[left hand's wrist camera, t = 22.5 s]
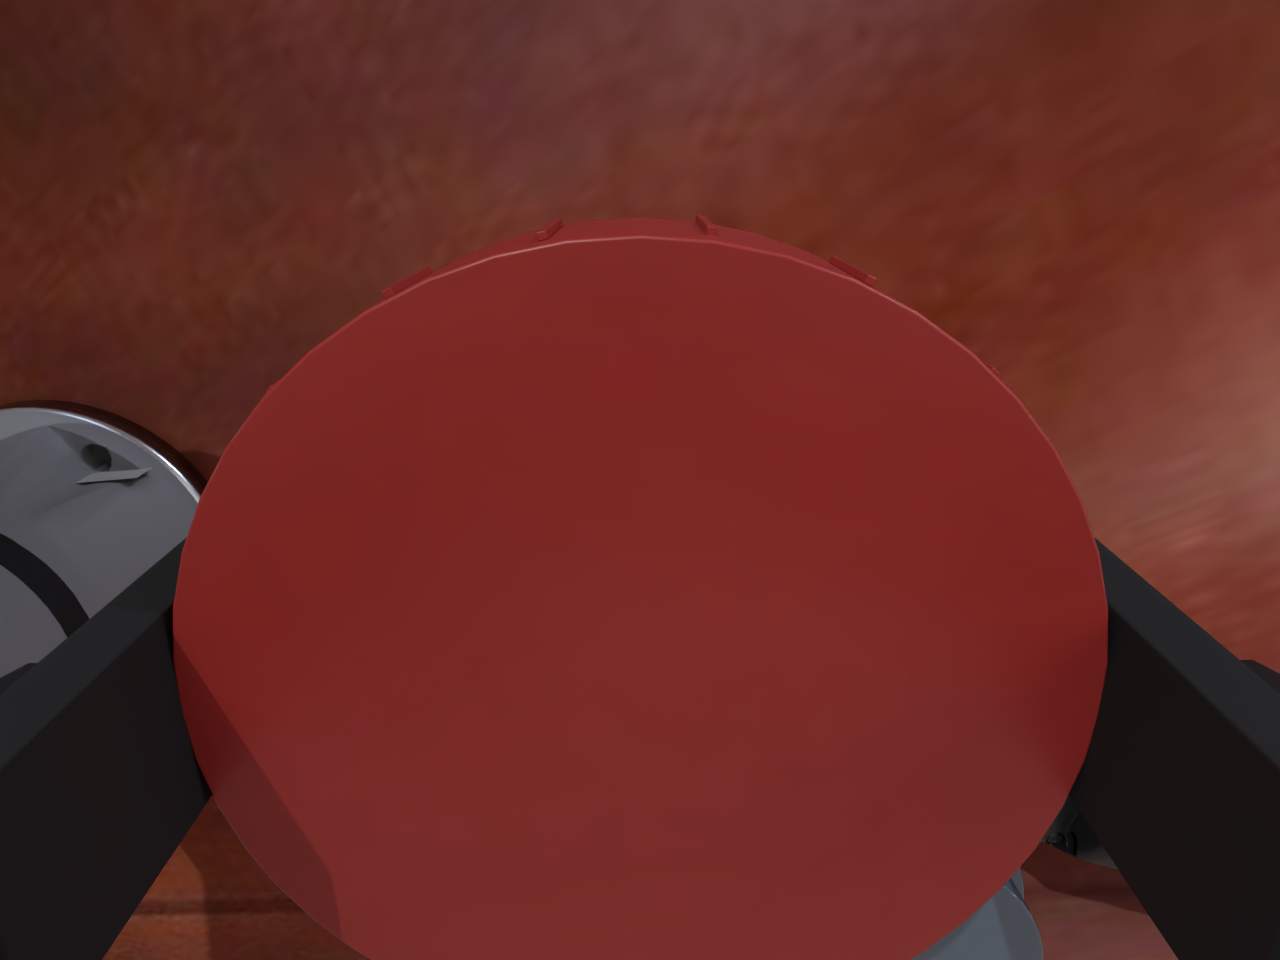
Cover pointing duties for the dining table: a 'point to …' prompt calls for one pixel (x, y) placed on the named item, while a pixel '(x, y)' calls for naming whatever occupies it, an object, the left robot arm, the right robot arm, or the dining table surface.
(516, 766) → the lid
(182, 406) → the dining table surface
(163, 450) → the left robot arm
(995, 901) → the jar
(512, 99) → the dining table surface
